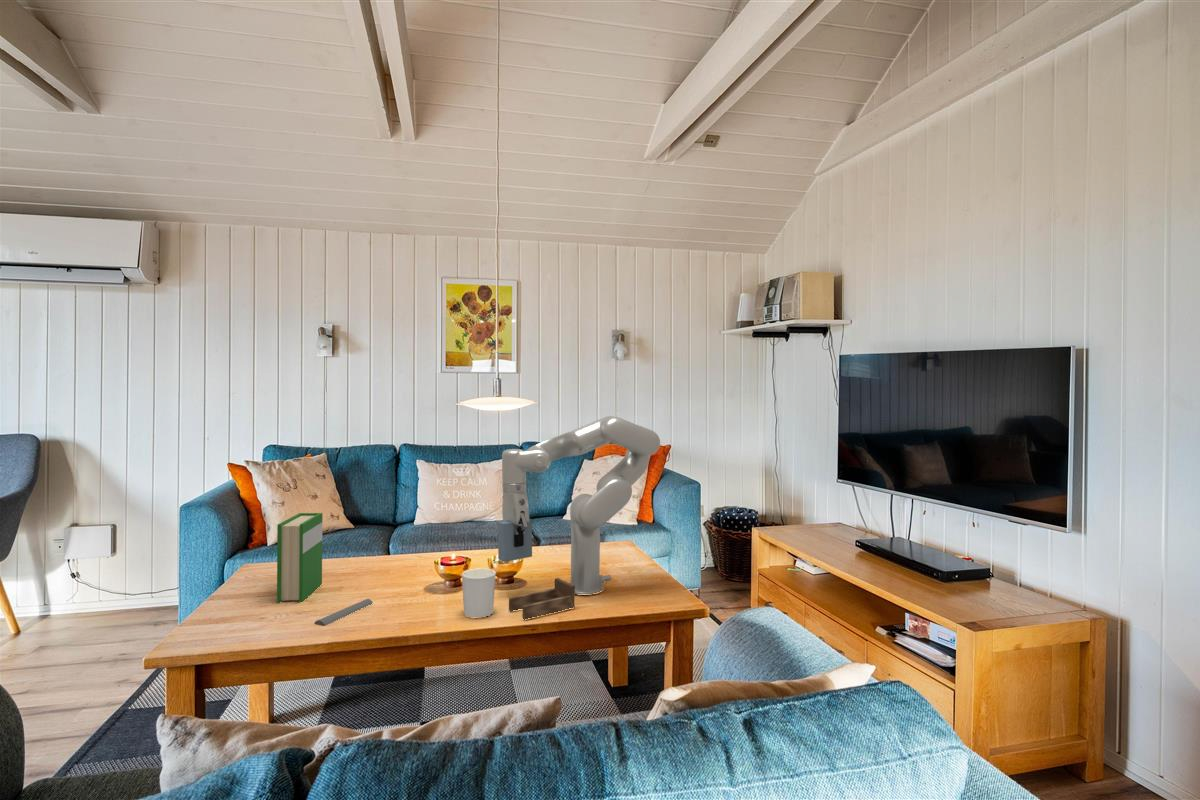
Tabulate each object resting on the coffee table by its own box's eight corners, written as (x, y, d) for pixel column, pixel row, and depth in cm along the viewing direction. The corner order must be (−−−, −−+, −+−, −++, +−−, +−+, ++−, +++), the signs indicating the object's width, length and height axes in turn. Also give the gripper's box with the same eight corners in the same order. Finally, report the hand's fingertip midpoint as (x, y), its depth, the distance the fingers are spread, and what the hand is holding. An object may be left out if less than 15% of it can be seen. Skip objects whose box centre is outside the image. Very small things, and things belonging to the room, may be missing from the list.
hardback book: (302, 602, 190) (302, 524, 189) (276, 603, 189) (277, 524, 189) (321, 584, 207) (322, 512, 207) (298, 585, 207) (299, 513, 206)
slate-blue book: (525, 554, 204) (525, 517, 204) (532, 556, 201) (531, 519, 201) (498, 559, 198) (497, 521, 198) (504, 562, 195) (503, 524, 195)
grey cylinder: (462, 621, 177) (463, 579, 176) (460, 609, 186) (460, 569, 186) (497, 618, 179) (497, 576, 179) (493, 606, 189) (493, 567, 189)
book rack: (557, 600, 195) (557, 578, 195) (574, 608, 188) (574, 585, 188) (508, 611, 185) (509, 587, 185) (524, 620, 177) (524, 596, 177)
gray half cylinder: (374, 605, 190) (374, 599, 190) (325, 628, 172) (325, 621, 172) (363, 603, 191) (363, 597, 191) (313, 625, 173) (313, 619, 173)
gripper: (537, 490, 195) (538, 548, 195) (512, 483, 208) (513, 538, 208) (516, 492, 190) (517, 552, 191) (491, 486, 204) (492, 541, 204)
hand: (515, 544), depth 199 cm, fingers closed on slate-blue book, 4 cm apart
